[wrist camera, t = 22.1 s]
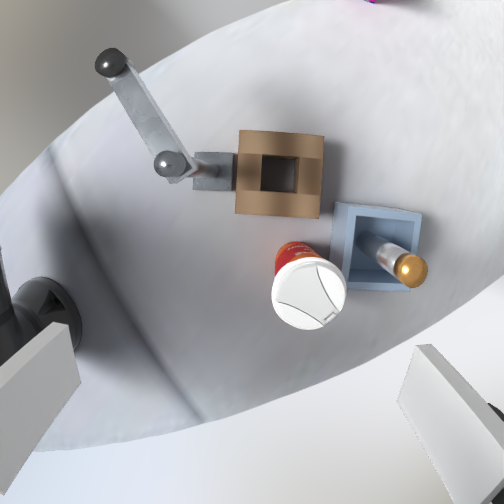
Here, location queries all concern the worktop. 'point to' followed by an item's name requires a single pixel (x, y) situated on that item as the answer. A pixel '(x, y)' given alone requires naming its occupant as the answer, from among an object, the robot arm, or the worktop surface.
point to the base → (225, 171)
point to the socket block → (305, 175)
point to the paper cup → (306, 287)
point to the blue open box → (380, 223)
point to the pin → (393, 259)
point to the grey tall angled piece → (150, 120)
